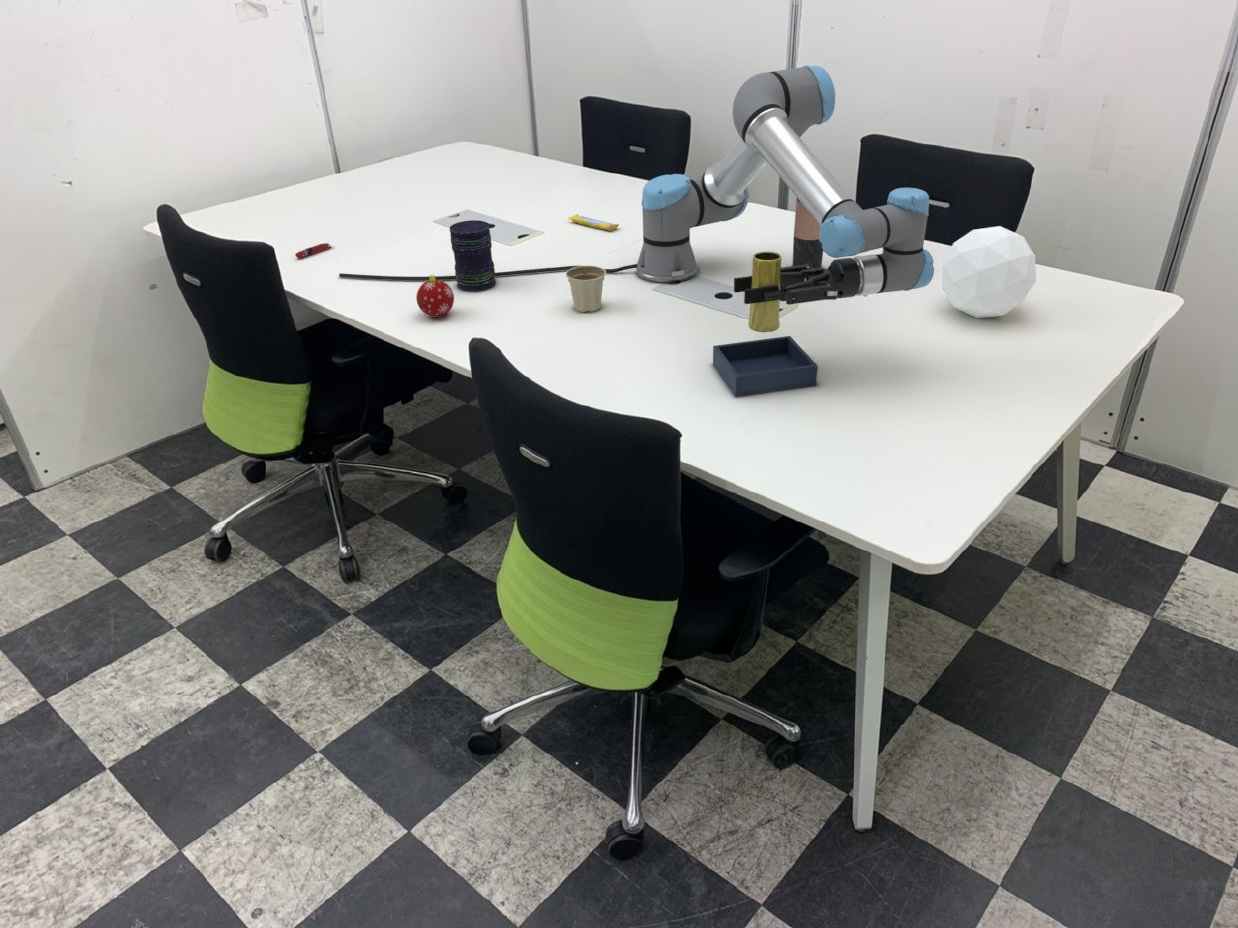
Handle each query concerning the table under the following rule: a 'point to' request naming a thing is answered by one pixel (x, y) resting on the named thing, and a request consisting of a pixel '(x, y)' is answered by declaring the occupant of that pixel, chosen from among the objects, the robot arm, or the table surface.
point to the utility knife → (312, 250)
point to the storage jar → (472, 255)
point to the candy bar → (593, 223)
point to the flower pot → (586, 287)
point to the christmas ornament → (435, 297)
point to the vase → (765, 275)
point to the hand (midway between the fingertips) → (739, 291)
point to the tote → (764, 366)
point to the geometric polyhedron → (988, 272)
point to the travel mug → (806, 238)
